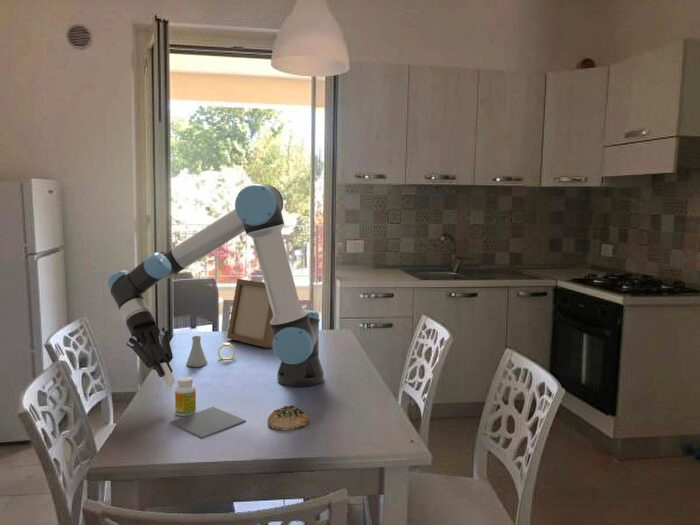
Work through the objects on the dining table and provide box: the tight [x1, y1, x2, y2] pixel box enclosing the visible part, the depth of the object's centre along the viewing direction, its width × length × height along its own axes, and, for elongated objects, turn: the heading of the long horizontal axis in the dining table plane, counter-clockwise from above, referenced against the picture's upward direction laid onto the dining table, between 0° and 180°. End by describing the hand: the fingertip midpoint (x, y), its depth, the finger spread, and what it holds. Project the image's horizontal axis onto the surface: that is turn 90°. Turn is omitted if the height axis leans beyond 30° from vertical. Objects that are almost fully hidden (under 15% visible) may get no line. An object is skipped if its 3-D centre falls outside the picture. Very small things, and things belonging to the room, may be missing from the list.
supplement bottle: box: [174, 376, 197, 417], centre depth 156 cm, size 5×5×10 cm
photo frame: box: [226, 278, 274, 349], centre depth 230 cm, size 15×22×25 cm
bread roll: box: [267, 404, 310, 431], centre depth 151 cm, size 11×11×5 cm
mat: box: [169, 406, 247, 439], centre depth 150 cm, size 14×14×1 cm
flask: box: [185, 335, 208, 368], centre depth 199 cm, size 7×7×10 cm
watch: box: [217, 342, 236, 361], centre depth 206 cm, size 6×3×6 cm, turn 103°
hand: (171, 384), depth 159 cm, fingers closed
